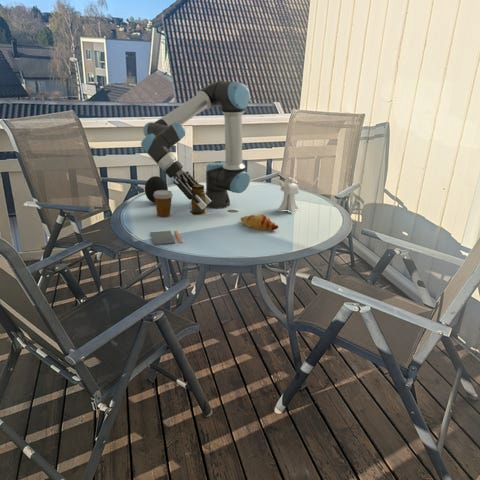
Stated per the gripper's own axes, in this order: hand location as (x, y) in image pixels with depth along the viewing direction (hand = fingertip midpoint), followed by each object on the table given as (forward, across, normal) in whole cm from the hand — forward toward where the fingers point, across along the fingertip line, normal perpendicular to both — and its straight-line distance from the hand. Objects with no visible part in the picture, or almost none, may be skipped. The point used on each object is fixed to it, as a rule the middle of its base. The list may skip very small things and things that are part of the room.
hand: (206, 205), depth 181 cm
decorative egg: (-19, -37, -40) cm, 57 cm away
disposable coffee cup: (-11, -19, -31) cm, 38 cm away
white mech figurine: (+33, -49, +10) cm, 60 cm away
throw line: (+2, +6, -18) cm, 19 cm away
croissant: (+25, -19, +3) cm, 32 cm away
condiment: (0, +1, -5) cm, 5 cm away
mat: (-2, +10, -22) cm, 24 cm away
